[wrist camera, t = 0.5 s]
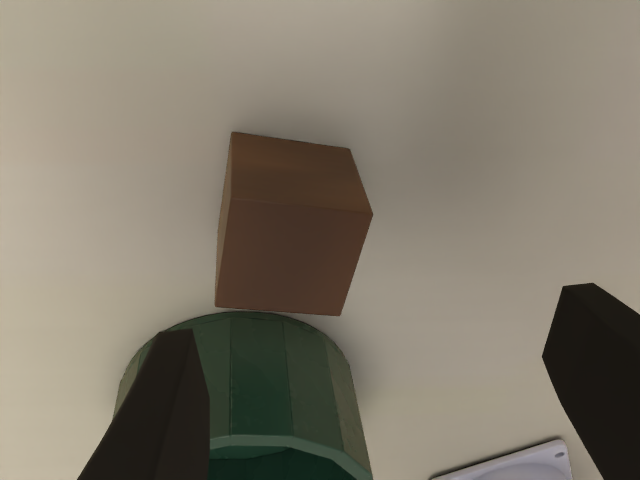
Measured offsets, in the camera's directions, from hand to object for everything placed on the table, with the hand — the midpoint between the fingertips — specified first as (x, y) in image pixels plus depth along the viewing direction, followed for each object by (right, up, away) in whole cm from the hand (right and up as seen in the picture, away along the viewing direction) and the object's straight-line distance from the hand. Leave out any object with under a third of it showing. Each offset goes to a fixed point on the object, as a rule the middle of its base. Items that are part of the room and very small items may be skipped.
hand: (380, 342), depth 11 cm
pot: (-5, -5, +15) cm, 16 cm away
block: (-3, +4, +8) cm, 10 cm away
